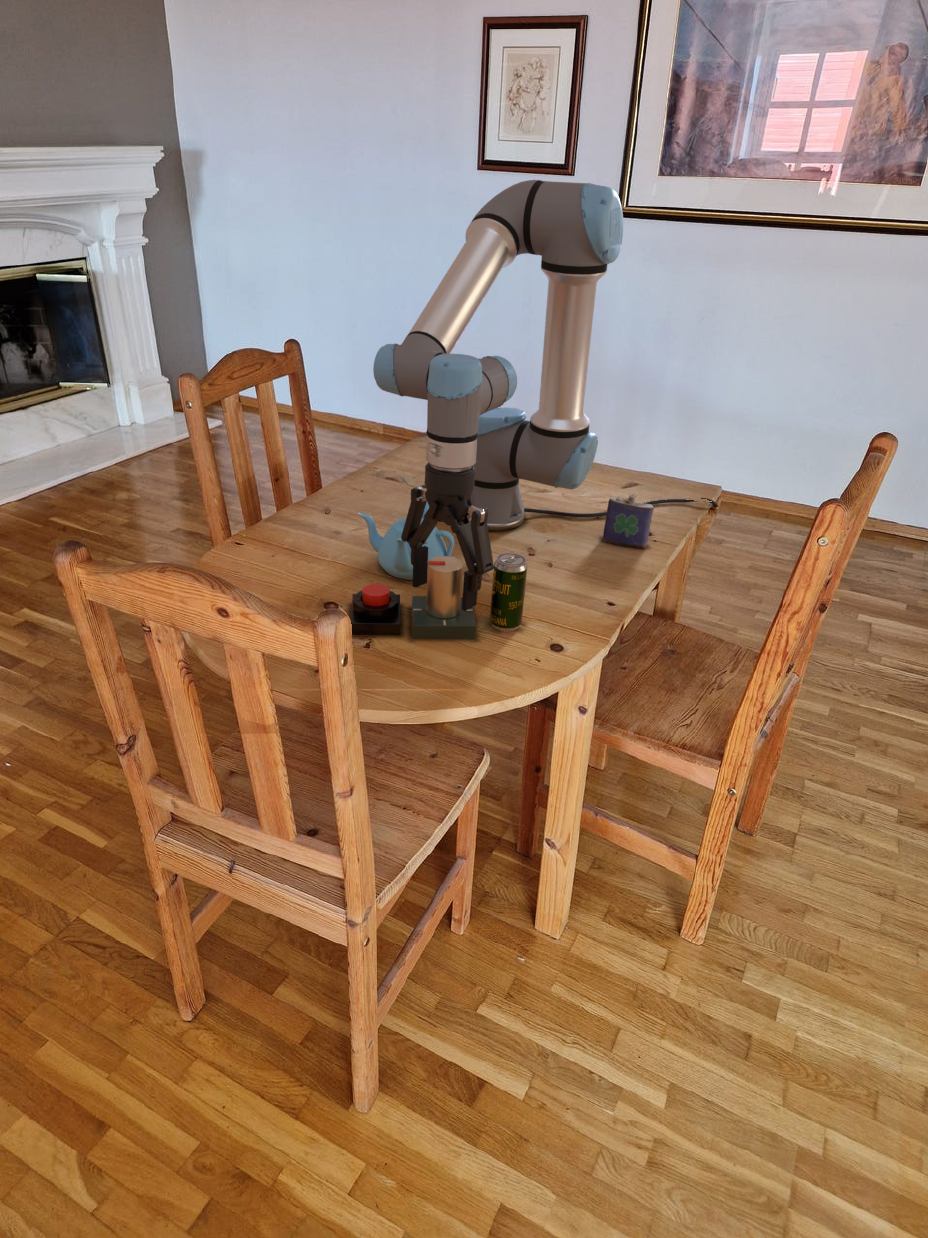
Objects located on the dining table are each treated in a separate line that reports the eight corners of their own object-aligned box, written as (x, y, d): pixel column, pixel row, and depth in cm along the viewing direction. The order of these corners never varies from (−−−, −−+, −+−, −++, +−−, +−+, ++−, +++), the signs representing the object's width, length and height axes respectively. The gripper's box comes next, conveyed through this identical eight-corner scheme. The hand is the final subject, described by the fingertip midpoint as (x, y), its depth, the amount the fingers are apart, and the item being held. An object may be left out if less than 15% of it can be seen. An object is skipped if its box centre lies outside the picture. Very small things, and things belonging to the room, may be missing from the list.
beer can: (502, 613, 139) (508, 549, 133) (527, 624, 136) (534, 559, 130) (482, 624, 135) (487, 558, 129) (508, 636, 132) (514, 569, 126)
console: (469, 609, 139) (470, 595, 138) (475, 639, 130) (476, 625, 129) (411, 608, 138) (412, 594, 137) (412, 639, 129) (413, 624, 128)
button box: (399, 605, 139) (400, 584, 137) (400, 635, 130) (400, 614, 128) (352, 605, 138) (352, 584, 136) (350, 635, 129) (349, 613, 127)
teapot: (465, 577, 150) (469, 525, 145) (392, 593, 143) (393, 539, 137) (427, 546, 160) (429, 498, 155) (358, 560, 153) (357, 509, 148)
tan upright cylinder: (458, 602, 136) (461, 554, 131) (461, 618, 131) (464, 570, 126) (425, 601, 135) (427, 554, 131) (426, 618, 130) (428, 569, 126)
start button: (389, 594, 134) (389, 583, 133) (389, 607, 131) (389, 596, 130) (362, 594, 134) (362, 583, 133) (361, 607, 130) (361, 595, 129)
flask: (647, 545, 167) (656, 496, 162) (645, 550, 165) (653, 500, 159) (603, 536, 170) (611, 487, 165) (600, 541, 168) (608, 492, 162)
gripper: (379, 450, 124) (378, 579, 135) (494, 490, 112) (482, 629, 123) (412, 440, 129) (409, 566, 140) (526, 478, 117) (513, 612, 128)
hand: (443, 595), depth 132 cm, fingers open, 10 cm apart
